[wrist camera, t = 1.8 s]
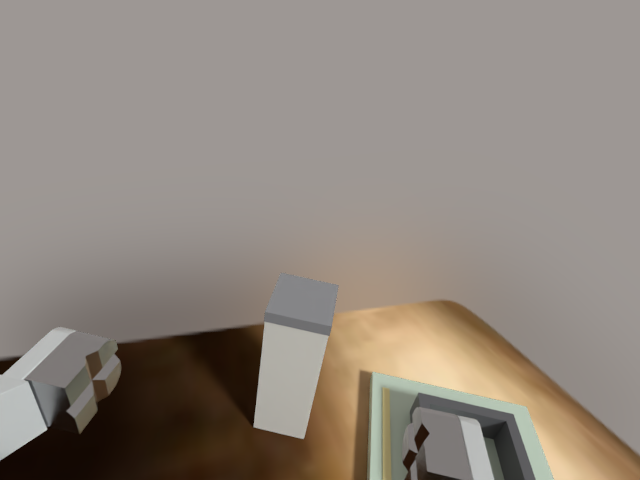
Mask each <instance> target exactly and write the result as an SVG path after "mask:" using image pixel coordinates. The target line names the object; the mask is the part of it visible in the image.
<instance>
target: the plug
mask: <svg viewBox="0 0 640 480" xmlns="http://www.w3.org/2000/svg"><path fill="white" fill-rule="evenodd" d="M337 291H338V285H335V284H330V283H325V282H321V281H316V280H312V279H308V278H303V277H298V276H294V275H289V274H285V273H281V274H280V276H279V279H278V281H277V284H276V286H275V289H274V291H273V294H272V296H271V299H270V301H269V304H268V306H267V309H266V311H265V317H264V322H265V326H264V335H263V344H262V354H261V363H260V372H259V381H258V390H257V399H256V409H255V418H254V427H255V428H259V429H263V430H267V431H272V432H276V433H280V434H284V435H288V436H293V437H297V438H301V439H304V436H305V432H306V428H307V424H308V420H309V415H310V411H311V407H312V403H313V399H314V394H315V390H316V386H317V382H318V378H319V374H320V369H321V365H322V361H323V357H324V353H325V348H326V344H327V340H328V336H329V335H330V331H331V327H332V321H333V315H334V309H335V303H336V297H337Z"/></svg>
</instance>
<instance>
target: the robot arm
mask: <svg viewBox="0 0 640 480" xmlns="http://www.w3.org/2000/svg"><path fill="white" fill-rule="evenodd" d="M117 350H118V347H117V344H116V340H112V339H108V338H104V337H100V336H96V335H92V334H88V333H84V332H79V331H76V330H71V329H67V328H63V327H58V328H56V329H53V330H51V331H50V332H49V333H48V334H47V335H46V336H44V337H43V339H41V340H40V341H39V342H38V343H37V344H36V345H35V346H34V347H32V348H31V349H30V350H29V351H28V352H27V353H26V354H25V355H24V356H22V357H21V358H20V359H19V360H18V361H17V362H16V363H15V364H14V365H13V366H11V367H10V368H9V369H8V370H7V371H6V372H5V373H4V374H3V375H0V460H2V459H3V458H5V457H6V456H8V455H9V454H11V453H12V452H14V451H15V450H17V449H18V448H20V447H22V446H23V445H25V444H26V443H28V442H29V441H31V440H32V439H34V438H35V437H37V436H38V435H40V434H41V433H43V432H44V431H46V430H47V428H52V429H57V430H62V431H67V432H72V433H77V434H80V433H81V432H82V431H83V429H84V428H85V427H86V425H87V424H88V423H89V421H90V420H91V419H92V417H93V416H94V415H95V413H96V412H97V411H98V401H100V400H101V399H103V398H105V397H107V396H109V394H110V393H111V391H112V390H113V389H114V387H115V386H116V384H117V381H118V379H119V376H120V372H121V363H120V360H119V359H118V358H117V357H116V355H115V354H114V353H115V352H116V351H117ZM412 417H413V423H411V424H409V425H407V428H406V430H405V433H404V438H403V443H402V463H403V465H404V466H405V468H406V469H407V471H408V473H407V475H406V477H405V479H404V480H494V477H493V473H492V469H491V465H490V461H489V457H488V454H487V450H486V446H485V442H484V438H483V434H482V430H481V426H480V424H479V422H478V421H477V420H476V419H472V418H468V417H463V416H458V415H455V414H451V413H447V412H442V411H437V410H432V409H427V408H422V407H417V408H415V410H414V412H413V414H412Z"/></svg>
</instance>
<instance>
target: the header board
mask: <svg viewBox="0 0 640 480" xmlns="http://www.w3.org/2000/svg"><path fill="white" fill-rule="evenodd" d="M417 407H422V408H427V409H432V410H437V411H442V412H447V413H451V414H455V415H458V416H463V417H468V418H472V419H476V420H477V421H478V422H479V424H480V426H481V430H482V434H483V438H484V442H485V446H486V450H487V454H488V457H489V461H490V465H491V469H492V473H493V477H494V480H554V478H553V475H552V473H551V470H550V468H549V465H548V462H547V460H546V457H545V454H544V452H543V449H542V446H541V444H540V441H539V439H538V436H537V433H536V431H535V428H534V425H533V423H532V420H531V417H530V415H529V412H528V410H527V407H525V406H521V405H517V404H512V403H508V402H503V401H499V400H495V399H490V398H486V397H481V396H477V395H473V394H468V393H464V392H459V391H455V390H451V389H446V388H442V387H437V386H433V385H429V384H424V383H420V382H415V381H411V380H407V379H402V378H398V377H394V376H389V375H385V374H380V373H376V372H372V375H371V378H370V401H369V432H368V462H367V480H404V479H405V477H406V475H407V473H408V471H407V469H406V468H405V466H404V465H403V463H402V443H403V438H404V433H405V430H406V428H407V425H409V424H411V423H413V417H412V414H413V412H414V410H415V408H417Z"/></svg>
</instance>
